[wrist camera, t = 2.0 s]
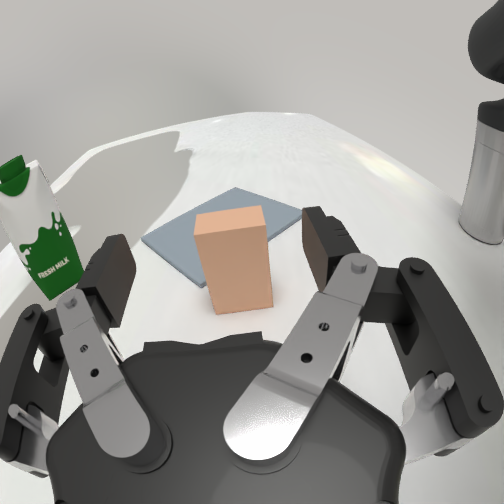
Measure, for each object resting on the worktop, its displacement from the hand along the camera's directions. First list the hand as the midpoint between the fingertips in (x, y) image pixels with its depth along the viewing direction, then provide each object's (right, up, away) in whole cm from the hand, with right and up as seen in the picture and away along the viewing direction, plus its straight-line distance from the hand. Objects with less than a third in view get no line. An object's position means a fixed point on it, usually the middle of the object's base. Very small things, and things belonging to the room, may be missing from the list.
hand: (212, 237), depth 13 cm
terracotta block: (+1, -6, +19) cm, 19 cm away
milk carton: (-27, -5, +25) cm, 37 cm away
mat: (-3, +3, +31) cm, 31 cm away
